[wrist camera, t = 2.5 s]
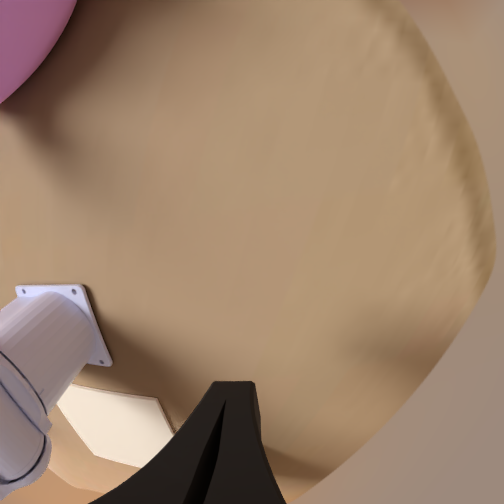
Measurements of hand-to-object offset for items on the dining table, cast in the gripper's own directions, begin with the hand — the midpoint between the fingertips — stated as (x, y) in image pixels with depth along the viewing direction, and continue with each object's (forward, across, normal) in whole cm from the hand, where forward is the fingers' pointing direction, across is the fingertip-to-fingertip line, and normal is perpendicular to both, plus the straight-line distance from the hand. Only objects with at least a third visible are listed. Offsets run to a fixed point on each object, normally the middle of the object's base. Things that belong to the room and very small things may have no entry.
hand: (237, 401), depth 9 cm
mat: (+10, +19, +20) cm, 29 cm away
